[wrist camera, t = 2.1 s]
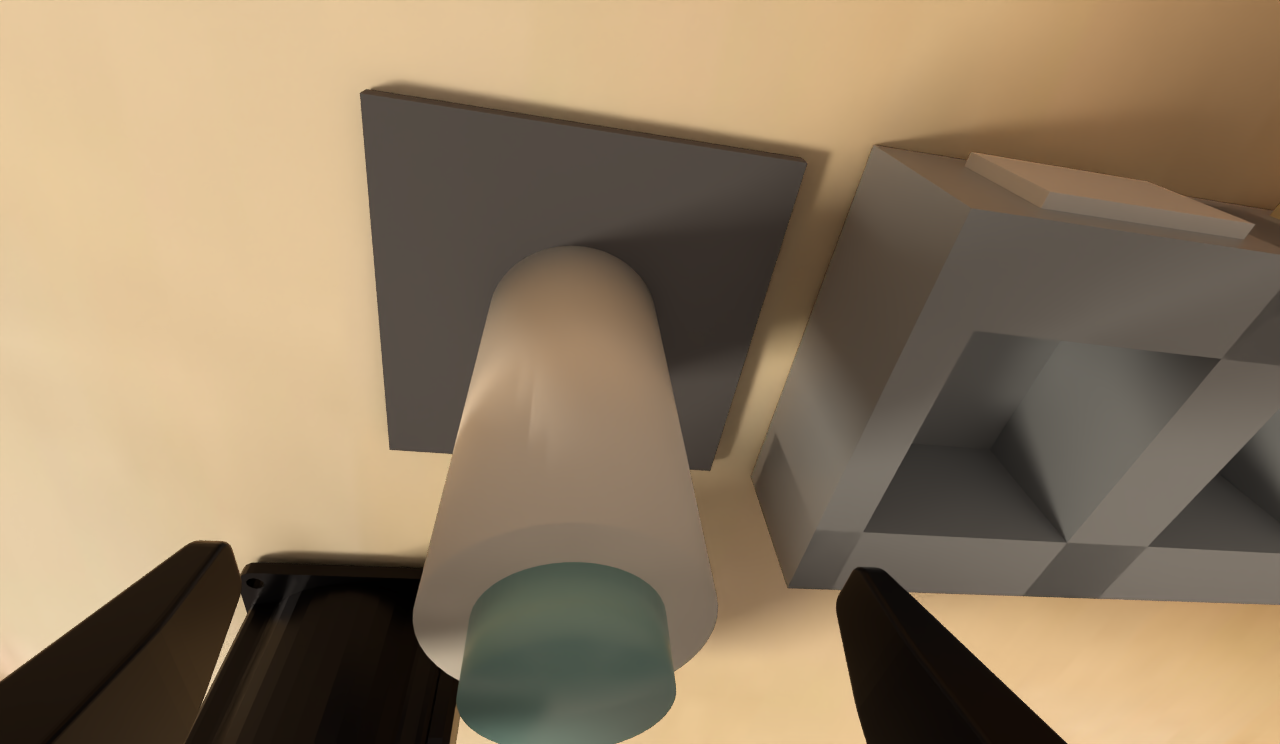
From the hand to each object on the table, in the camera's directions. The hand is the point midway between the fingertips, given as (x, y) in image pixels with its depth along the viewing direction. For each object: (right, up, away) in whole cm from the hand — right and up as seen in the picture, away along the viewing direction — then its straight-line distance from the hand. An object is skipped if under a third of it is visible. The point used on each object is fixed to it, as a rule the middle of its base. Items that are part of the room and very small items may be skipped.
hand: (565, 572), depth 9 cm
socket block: (+13, +3, +8) cm, 16 cm away
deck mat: (-1, +4, +6) cm, 8 cm away
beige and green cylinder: (-1, +4, +6) cm, 7 cm away
